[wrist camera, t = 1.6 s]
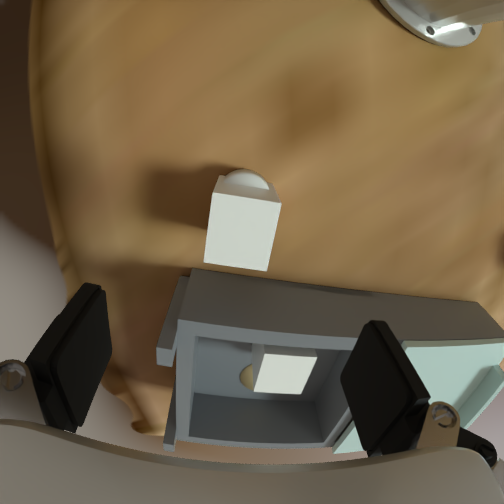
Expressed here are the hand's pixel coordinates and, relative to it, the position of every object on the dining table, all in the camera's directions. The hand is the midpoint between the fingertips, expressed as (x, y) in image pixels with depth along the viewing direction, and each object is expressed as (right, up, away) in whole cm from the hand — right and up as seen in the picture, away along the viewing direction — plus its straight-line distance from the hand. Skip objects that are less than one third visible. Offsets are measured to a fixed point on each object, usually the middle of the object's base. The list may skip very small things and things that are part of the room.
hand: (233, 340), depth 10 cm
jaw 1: (0, +6, +13) cm, 15 cm away
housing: (+10, -8, +20) cm, 24 cm away
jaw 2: (+3, -4, +17) cm, 18 cm away
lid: (+19, -12, +14) cm, 27 cm away
